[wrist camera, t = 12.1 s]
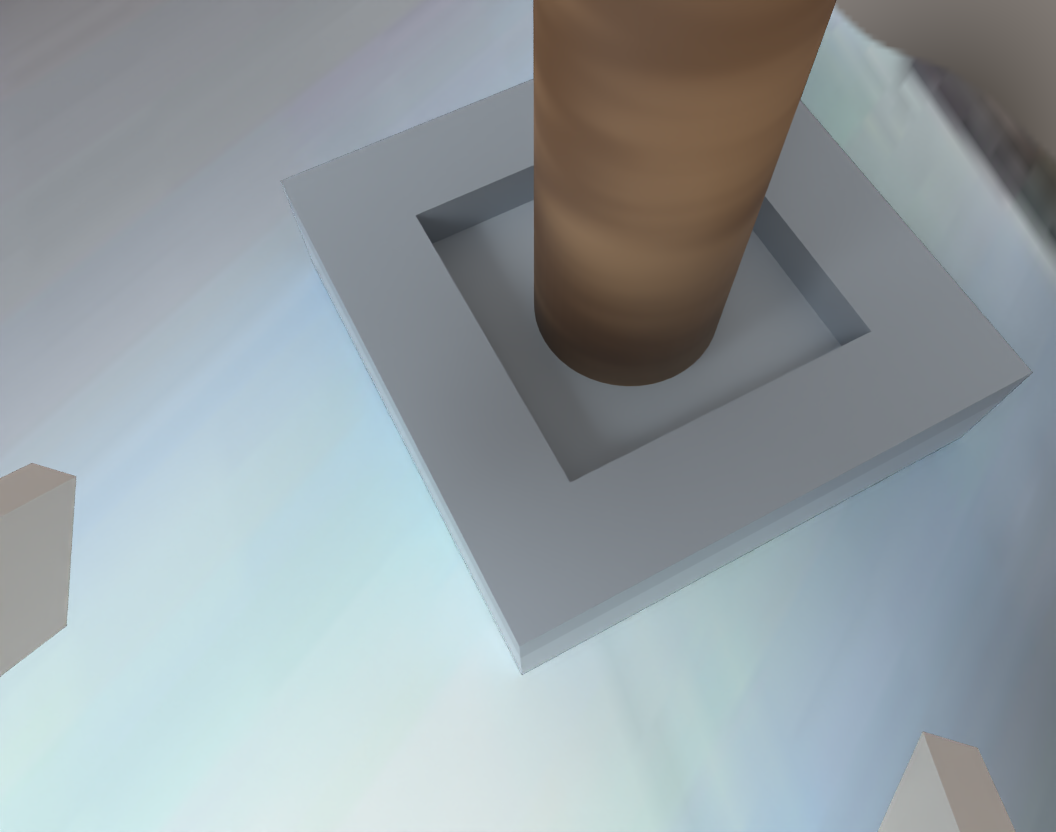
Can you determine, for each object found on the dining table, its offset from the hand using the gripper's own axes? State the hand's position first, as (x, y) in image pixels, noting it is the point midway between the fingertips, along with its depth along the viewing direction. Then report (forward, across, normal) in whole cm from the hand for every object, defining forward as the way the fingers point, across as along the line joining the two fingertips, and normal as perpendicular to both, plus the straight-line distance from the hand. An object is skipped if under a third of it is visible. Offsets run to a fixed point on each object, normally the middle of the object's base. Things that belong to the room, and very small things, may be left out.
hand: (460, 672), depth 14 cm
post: (+13, 0, +4) cm, 13 cm away
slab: (+15, +1, +2) cm, 15 cm away
